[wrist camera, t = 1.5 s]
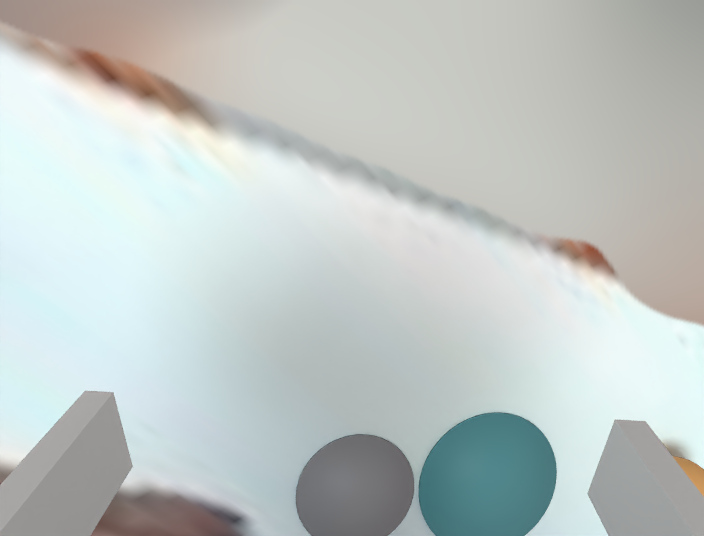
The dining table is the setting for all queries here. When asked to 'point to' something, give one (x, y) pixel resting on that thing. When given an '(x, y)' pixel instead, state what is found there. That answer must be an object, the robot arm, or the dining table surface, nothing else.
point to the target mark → (488, 478)
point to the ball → (692, 472)
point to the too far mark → (355, 488)
